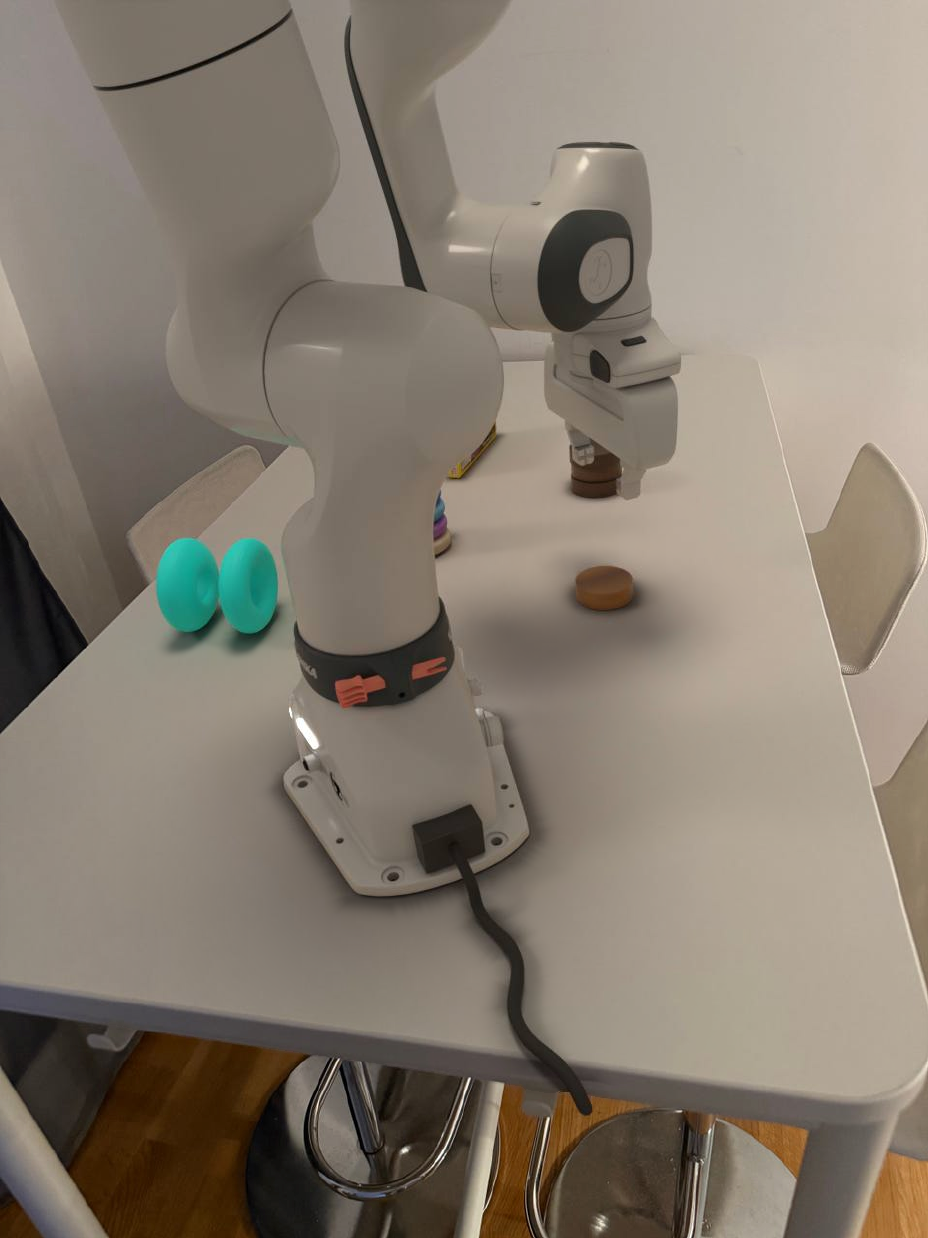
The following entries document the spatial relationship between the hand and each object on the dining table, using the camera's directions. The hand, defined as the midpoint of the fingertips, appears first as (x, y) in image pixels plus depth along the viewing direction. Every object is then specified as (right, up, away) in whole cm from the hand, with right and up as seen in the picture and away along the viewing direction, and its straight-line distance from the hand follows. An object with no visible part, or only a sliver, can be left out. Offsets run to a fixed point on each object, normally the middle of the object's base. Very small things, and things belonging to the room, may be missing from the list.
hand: (604, 478), depth 91 cm
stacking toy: (-19, -5, +20) cm, 29 cm away
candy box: (-12, +10, +43) cm, 46 cm away
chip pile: (+4, +3, +30) cm, 30 cm away
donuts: (-39, -15, +9) cm, 43 cm away
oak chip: (+1, -11, +7) cm, 13 cm away
